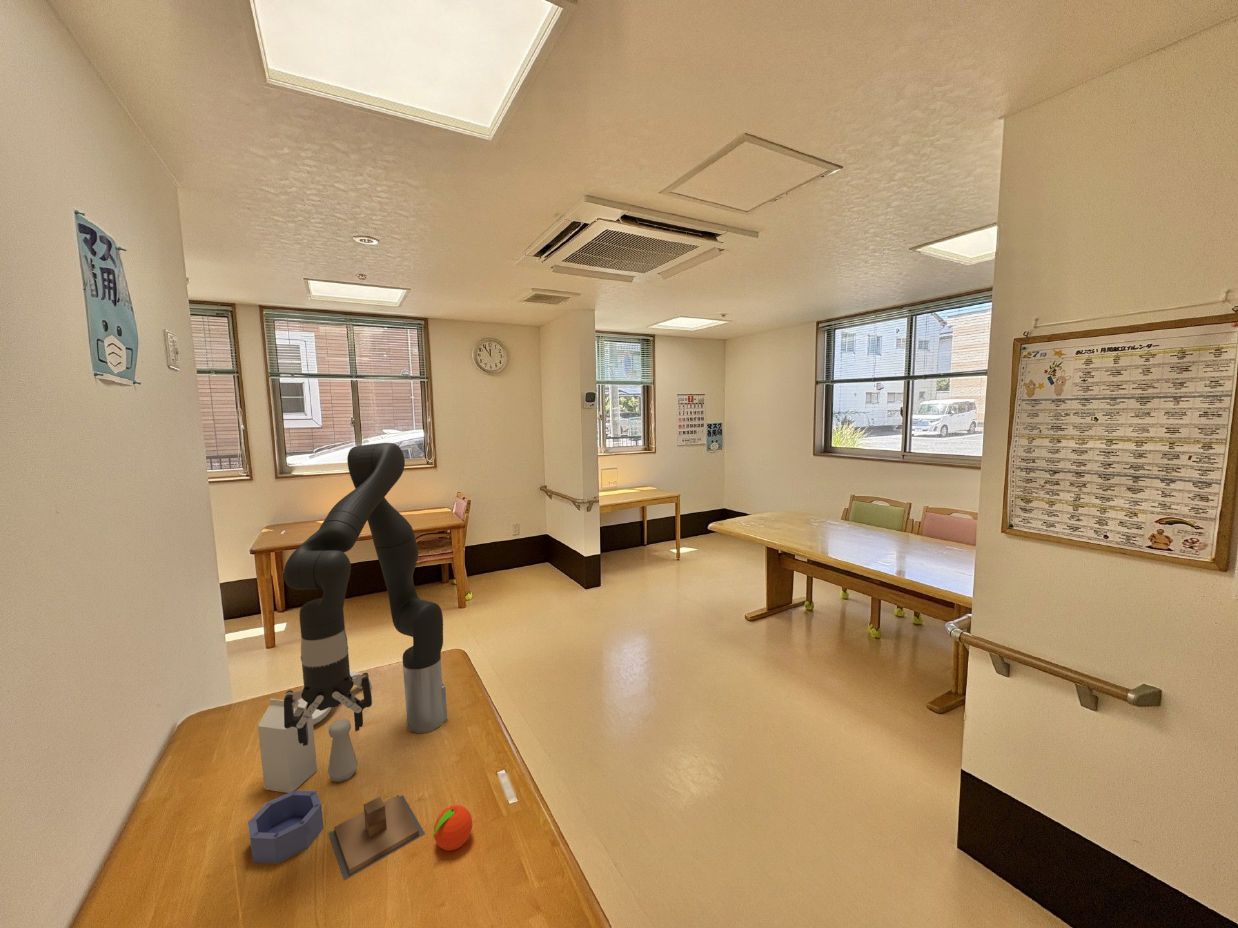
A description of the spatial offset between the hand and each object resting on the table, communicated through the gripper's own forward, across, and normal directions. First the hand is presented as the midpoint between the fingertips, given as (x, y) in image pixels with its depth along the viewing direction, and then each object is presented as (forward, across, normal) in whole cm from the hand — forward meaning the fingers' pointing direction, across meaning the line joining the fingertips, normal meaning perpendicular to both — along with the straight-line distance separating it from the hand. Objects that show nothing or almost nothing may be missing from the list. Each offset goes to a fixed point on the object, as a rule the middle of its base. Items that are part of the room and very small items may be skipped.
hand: (332, 735), depth 94 cm
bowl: (+20, +9, -3) cm, 22 cm away
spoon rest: (+21, +4, -49) cm, 53 cm away
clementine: (+20, -19, +14) cm, 31 cm away
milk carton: (+20, +10, -22) cm, 31 cm away
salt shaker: (+20, 0, -17) cm, 27 cm away
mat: (+20, -6, +4) cm, 22 cm away
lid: (+20, -6, +4) cm, 21 cm away
